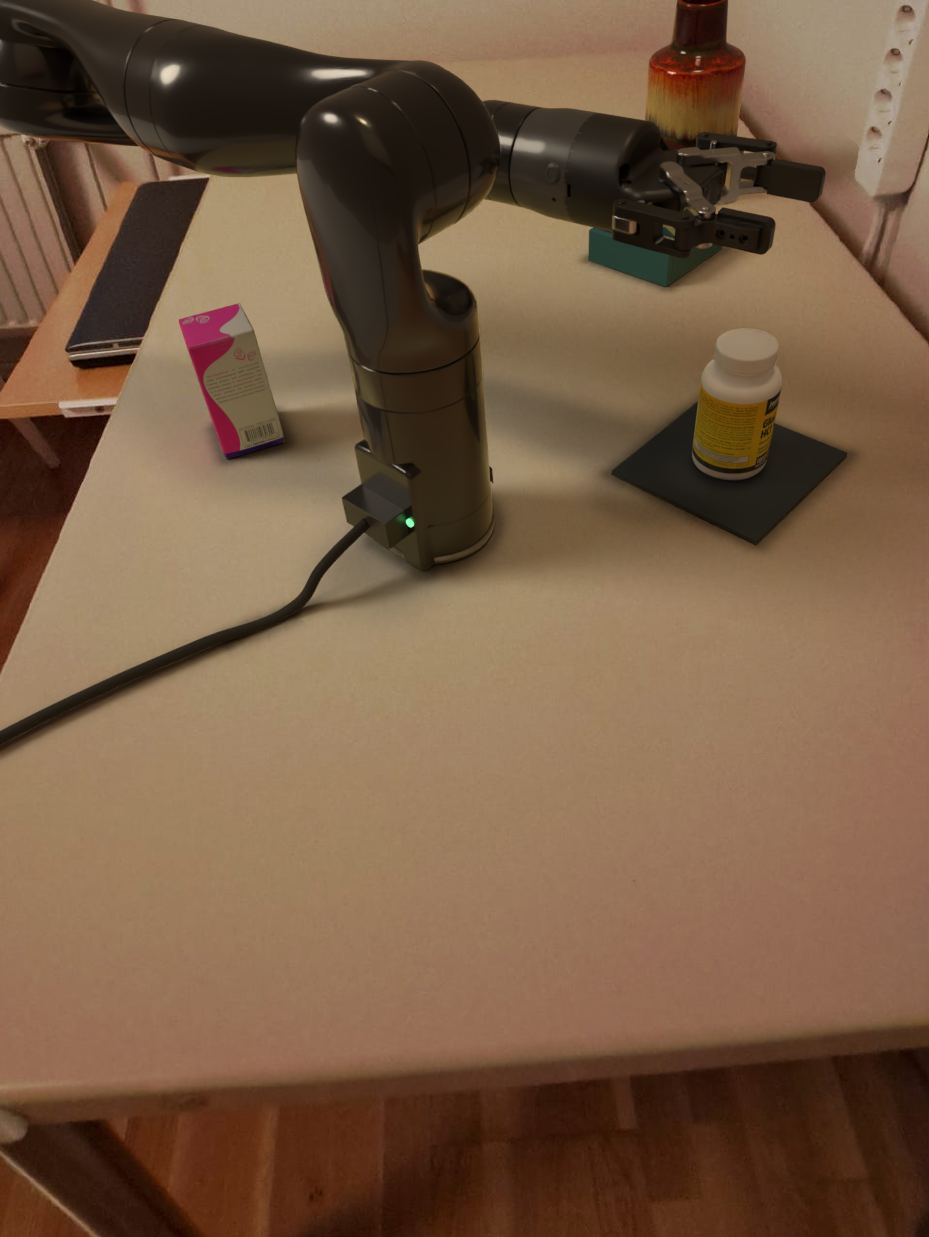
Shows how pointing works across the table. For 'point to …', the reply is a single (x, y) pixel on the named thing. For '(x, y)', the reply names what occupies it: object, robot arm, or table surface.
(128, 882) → the table surface
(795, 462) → the mat
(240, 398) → the supplement box
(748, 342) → the pill bottle
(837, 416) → the table surface
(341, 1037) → the table surface
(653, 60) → the vase
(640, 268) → the square frame
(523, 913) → the table surface
